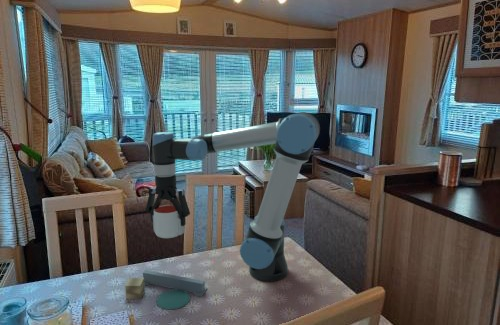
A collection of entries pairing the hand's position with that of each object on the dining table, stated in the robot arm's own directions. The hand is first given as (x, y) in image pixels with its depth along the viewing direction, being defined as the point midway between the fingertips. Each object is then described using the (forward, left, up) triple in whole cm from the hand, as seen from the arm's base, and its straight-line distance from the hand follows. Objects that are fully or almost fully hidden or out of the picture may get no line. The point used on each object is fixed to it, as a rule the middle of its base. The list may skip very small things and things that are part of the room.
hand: (168, 232), depth 130 cm
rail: (-6, +8, -17) cm, 20 cm away
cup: (0, 0, -1) cm, 1 cm away
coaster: (-10, +15, -17) cm, 25 cm away
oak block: (+4, +16, -18) cm, 24 cm away
